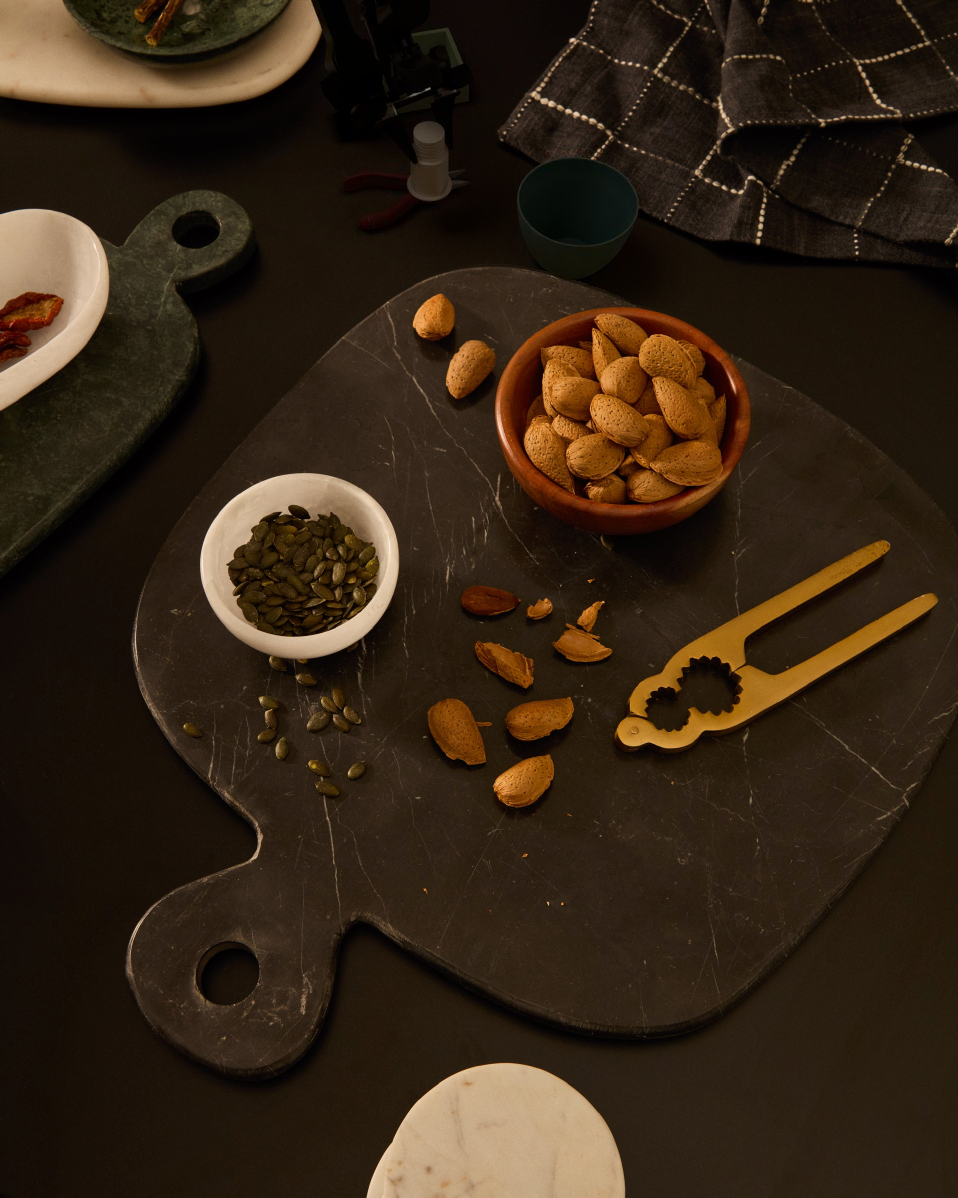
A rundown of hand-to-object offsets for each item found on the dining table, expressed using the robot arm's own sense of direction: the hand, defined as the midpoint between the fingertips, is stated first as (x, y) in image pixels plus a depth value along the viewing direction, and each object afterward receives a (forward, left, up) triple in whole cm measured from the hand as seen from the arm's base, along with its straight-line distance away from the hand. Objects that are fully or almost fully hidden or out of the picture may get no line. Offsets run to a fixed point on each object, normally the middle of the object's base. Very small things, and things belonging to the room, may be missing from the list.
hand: (433, 156), depth 147 cm
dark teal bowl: (+13, +19, -14) cm, 27 cm away
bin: (-34, +7, -13) cm, 37 cm away
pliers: (-6, -3, -14) cm, 15 cm away
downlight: (-1, 0, -7) cm, 7 cm away
